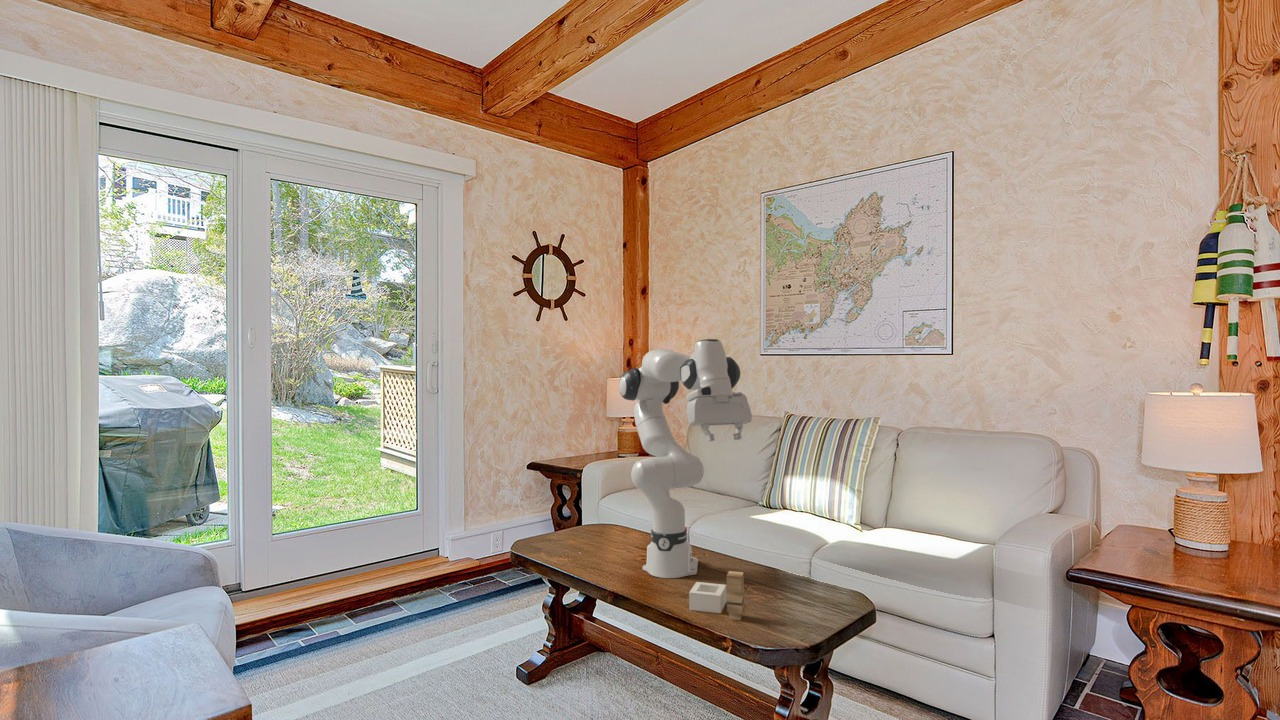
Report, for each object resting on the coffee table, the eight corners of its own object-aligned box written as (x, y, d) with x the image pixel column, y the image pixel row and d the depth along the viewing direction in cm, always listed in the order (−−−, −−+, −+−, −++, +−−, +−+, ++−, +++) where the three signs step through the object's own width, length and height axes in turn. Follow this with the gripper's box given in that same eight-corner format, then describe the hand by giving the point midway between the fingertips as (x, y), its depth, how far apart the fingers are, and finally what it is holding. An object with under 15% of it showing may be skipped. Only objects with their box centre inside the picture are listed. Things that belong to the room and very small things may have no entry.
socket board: (696, 598, 190) (696, 581, 190) (726, 601, 187) (726, 584, 187) (689, 609, 182) (689, 592, 182) (720, 613, 179) (720, 595, 179)
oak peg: (729, 613, 179) (729, 571, 179) (744, 615, 177) (743, 572, 177) (726, 619, 175) (726, 575, 175) (741, 621, 173) (741, 577, 173)
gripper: (739, 395, 190) (747, 440, 186) (681, 395, 180) (688, 443, 177) (752, 389, 185) (760, 436, 181) (693, 389, 175) (700, 439, 171)
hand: (724, 440), depth 179 cm, fingers open, 8 cm apart
